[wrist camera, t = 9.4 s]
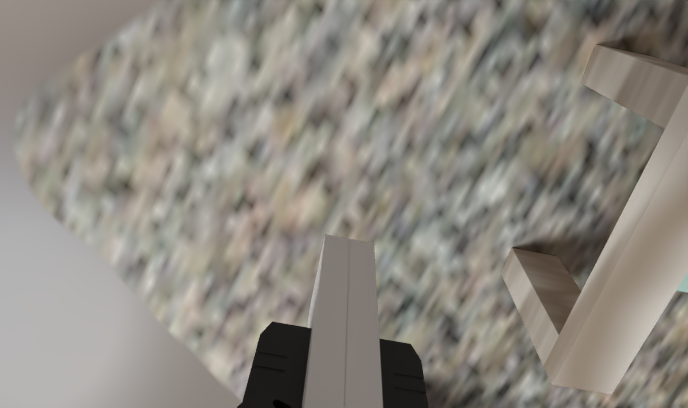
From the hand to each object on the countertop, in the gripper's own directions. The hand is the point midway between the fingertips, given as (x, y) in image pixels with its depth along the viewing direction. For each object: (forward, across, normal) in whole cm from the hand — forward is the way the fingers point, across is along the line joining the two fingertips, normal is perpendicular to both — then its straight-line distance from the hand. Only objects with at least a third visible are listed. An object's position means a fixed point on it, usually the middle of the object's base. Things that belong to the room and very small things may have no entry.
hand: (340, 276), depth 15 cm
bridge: (+14, -13, 0) cm, 19 cm away
